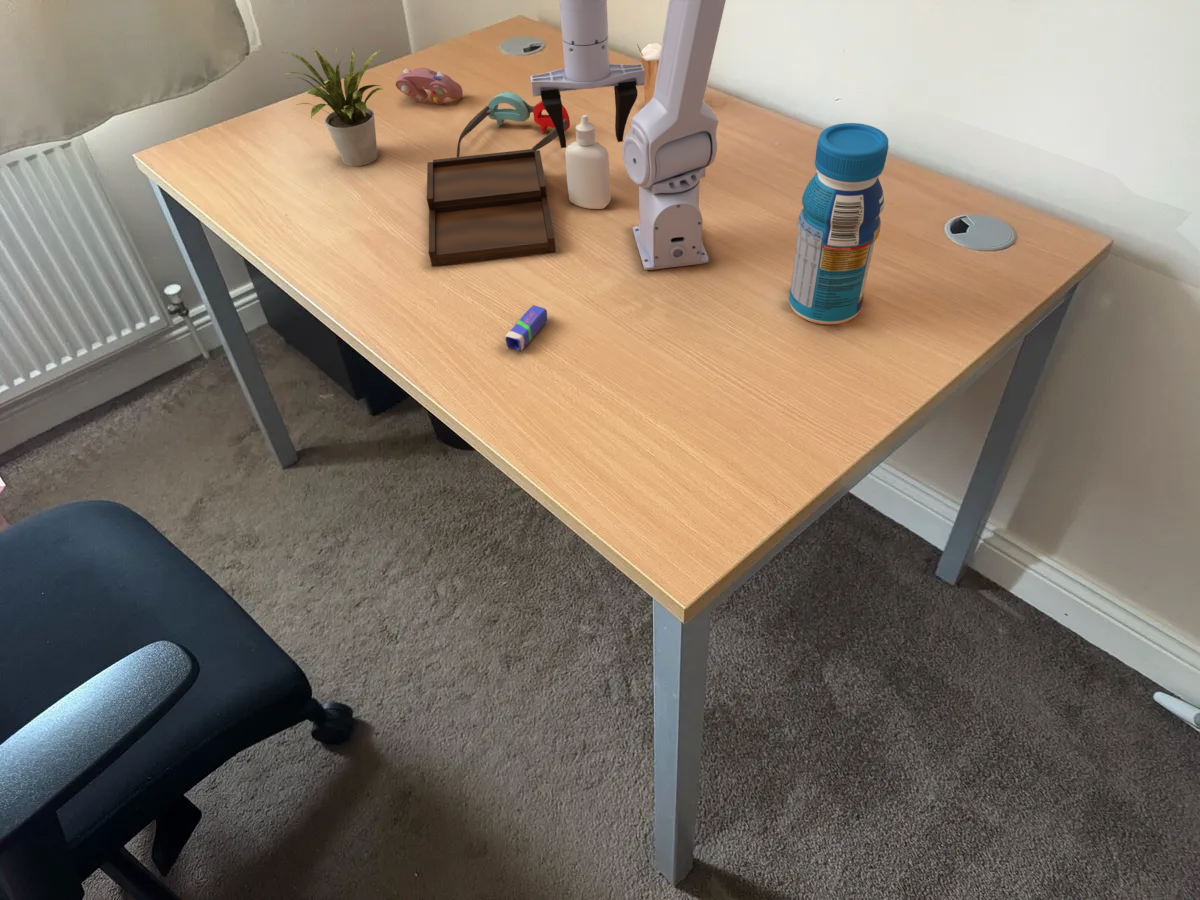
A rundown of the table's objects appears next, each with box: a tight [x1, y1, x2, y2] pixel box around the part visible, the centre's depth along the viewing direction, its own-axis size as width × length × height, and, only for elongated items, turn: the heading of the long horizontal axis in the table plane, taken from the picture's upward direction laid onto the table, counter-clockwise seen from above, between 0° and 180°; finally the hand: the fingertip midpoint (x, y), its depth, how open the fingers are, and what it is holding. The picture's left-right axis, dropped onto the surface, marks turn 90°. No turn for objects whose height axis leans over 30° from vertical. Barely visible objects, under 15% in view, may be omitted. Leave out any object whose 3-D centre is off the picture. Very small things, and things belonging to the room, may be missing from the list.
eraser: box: [504, 304, 548, 352], centre depth 95 cm, size 2×6×2 cm, turn 152°
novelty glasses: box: [456, 91, 571, 157], centre depth 125 cm, size 14×15×5 cm
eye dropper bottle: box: [564, 114, 612, 210], centre depth 110 cm, size 4×6×12 cm
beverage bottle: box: [788, 122, 889, 325], centre depth 89 cm, size 8×8×20 cm
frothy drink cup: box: [636, 42, 662, 106], centre depth 130 cm, size 5×5×10 cm
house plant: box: [282, 44, 384, 167], centre depth 121 cm, size 14×14×16 cm
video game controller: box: [395, 67, 464, 105], centre depth 137 cm, size 10×5×7 cm, turn 73°
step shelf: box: [426, 148, 557, 267], centre depth 112 cm, size 20×16×4 cm
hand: (591, 141), depth 115 cm, fingers open, 7 cm apart
